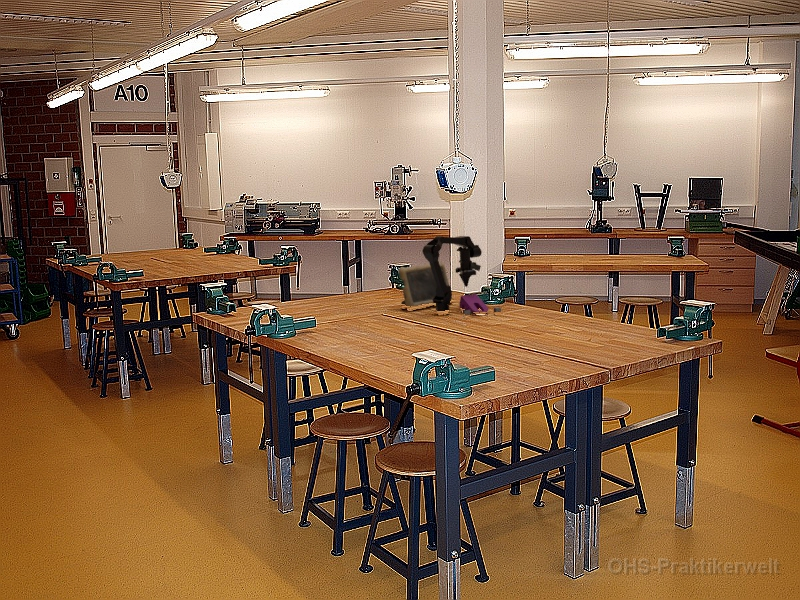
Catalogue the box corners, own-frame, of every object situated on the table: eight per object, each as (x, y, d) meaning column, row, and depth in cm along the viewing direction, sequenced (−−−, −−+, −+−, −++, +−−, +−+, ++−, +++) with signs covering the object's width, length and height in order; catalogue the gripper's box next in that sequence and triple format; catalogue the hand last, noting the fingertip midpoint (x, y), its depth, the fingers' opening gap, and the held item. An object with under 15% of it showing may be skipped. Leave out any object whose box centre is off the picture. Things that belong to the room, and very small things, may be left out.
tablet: (414, 312, 458) (412, 268, 454) (397, 310, 468) (395, 267, 465) (454, 304, 480) (452, 261, 476) (437, 302, 490) (435, 260, 486)
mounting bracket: (488, 324, 442) (473, 306, 456) (491, 311, 438) (476, 294, 451) (473, 326, 438) (458, 308, 452) (476, 313, 434) (461, 295, 448)
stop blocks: (465, 318, 430) (465, 311, 430) (463, 317, 433) (463, 310, 433) (501, 315, 435) (500, 307, 434) (499, 314, 438) (498, 306, 437)
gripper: (484, 259, 447) (485, 287, 449) (473, 256, 465) (474, 283, 467) (465, 260, 444) (466, 289, 446) (454, 257, 462) (455, 285, 464)
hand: (466, 286), depth 456 cm, fingers closed
